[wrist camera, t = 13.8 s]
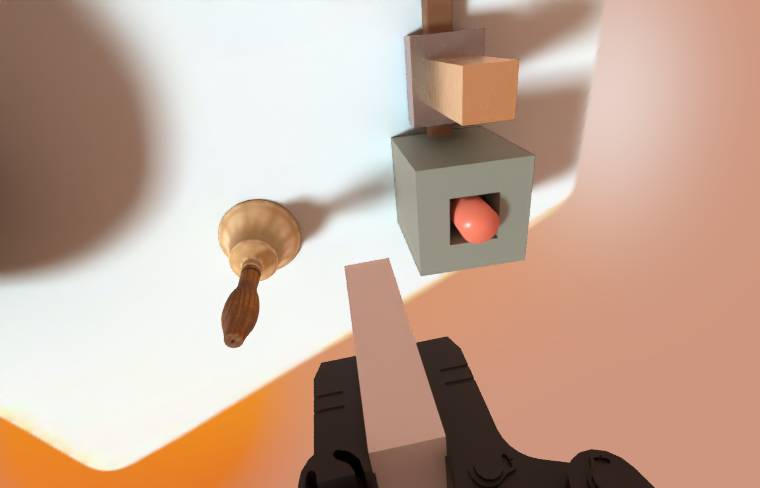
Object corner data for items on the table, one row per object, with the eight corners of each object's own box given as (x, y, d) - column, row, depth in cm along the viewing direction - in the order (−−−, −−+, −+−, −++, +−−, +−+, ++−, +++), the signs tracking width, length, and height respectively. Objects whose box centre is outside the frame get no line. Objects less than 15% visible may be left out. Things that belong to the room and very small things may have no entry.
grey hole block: (391, 137, 38) (415, 171, 28) (484, 125, 38) (540, 154, 29) (397, 221, 42) (420, 276, 32) (482, 209, 43) (529, 259, 33)
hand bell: (302, 202, 40) (293, 291, 26) (299, 272, 43) (290, 383, 29) (216, 196, 38) (155, 287, 24) (220, 269, 42) (170, 385, 28)
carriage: (400, 36, 33) (441, 34, 22) (468, 29, 34) (541, 24, 23) (405, 120, 37) (443, 155, 26) (467, 112, 37) (531, 143, 26)
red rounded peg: (433, 176, 36) (461, 210, 29) (465, 172, 36) (500, 204, 29) (434, 207, 37) (461, 246, 30) (464, 202, 37) (498, 240, 30)
